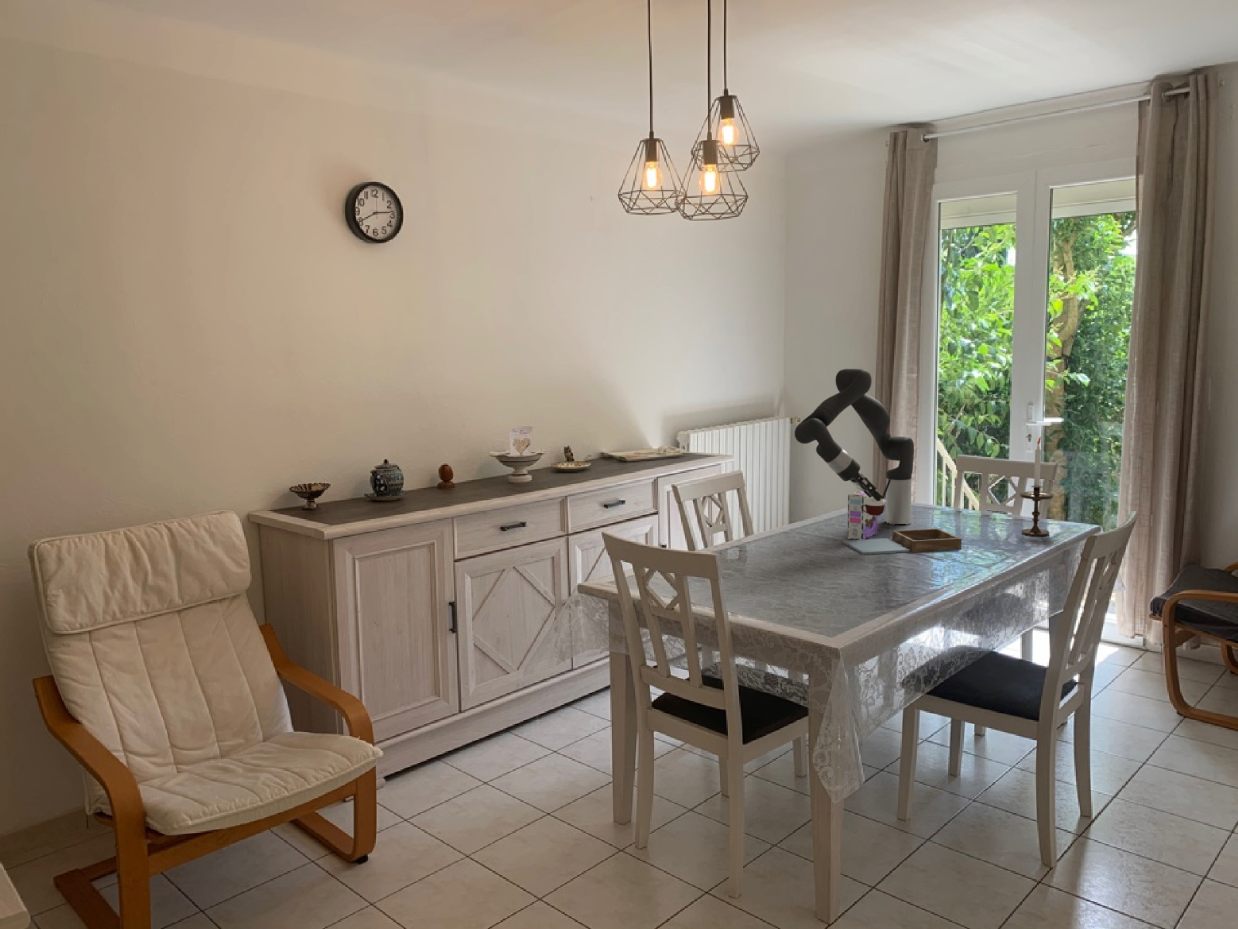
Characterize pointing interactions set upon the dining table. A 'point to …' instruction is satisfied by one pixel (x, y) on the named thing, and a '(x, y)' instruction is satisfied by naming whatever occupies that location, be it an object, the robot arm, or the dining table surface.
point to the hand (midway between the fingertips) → (876, 497)
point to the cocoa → (875, 504)
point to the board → (876, 546)
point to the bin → (910, 540)
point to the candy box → (860, 517)
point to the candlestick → (1036, 497)
